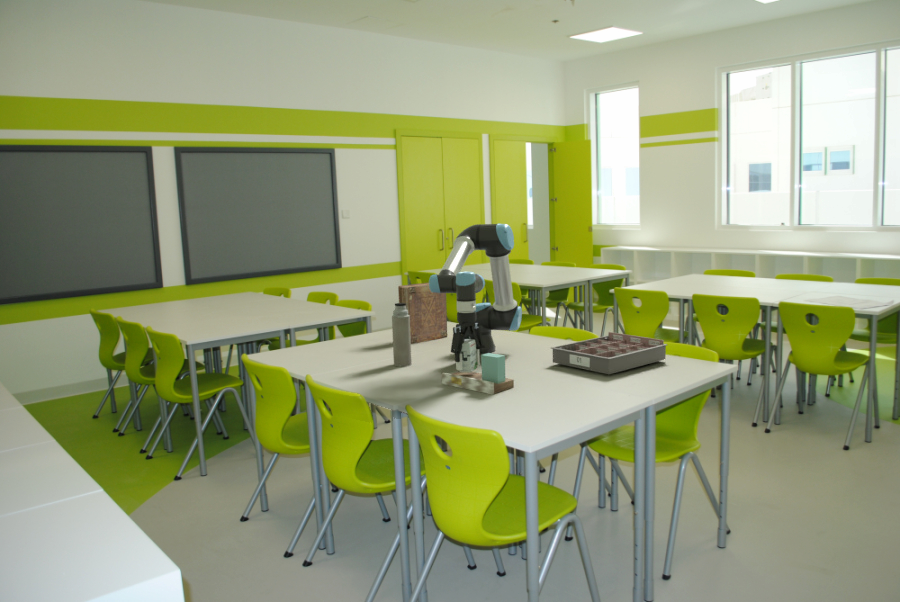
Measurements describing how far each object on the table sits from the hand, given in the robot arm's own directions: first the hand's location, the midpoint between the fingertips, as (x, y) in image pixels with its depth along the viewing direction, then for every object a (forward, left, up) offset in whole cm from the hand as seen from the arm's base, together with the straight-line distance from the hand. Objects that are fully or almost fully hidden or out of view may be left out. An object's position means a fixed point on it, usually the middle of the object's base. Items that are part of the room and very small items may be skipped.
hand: (468, 367), depth 262 cm
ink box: (0, 0, -1) cm, 1 cm away
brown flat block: (+5, 0, -6) cm, 8 cm away
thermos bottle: (-46, +7, -7) cm, 47 cm away
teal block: (+13, 0, -3) cm, 13 cm away
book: (-81, +55, -7) cm, 98 cm away
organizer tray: (+27, +62, -7) cm, 68 cm away
